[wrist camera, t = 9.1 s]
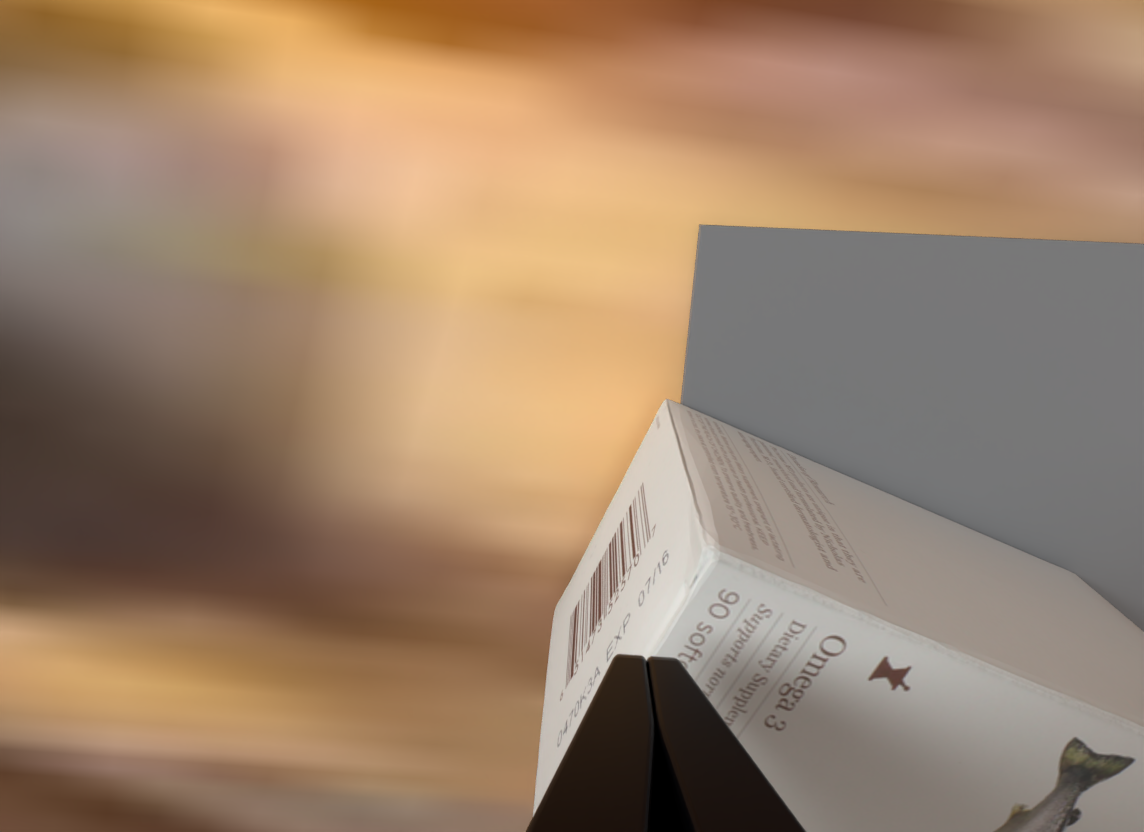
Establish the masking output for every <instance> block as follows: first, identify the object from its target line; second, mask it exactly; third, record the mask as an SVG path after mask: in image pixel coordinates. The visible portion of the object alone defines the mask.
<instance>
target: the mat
mask: <svg viewBox="0 0 1144 832" xmlns="http://www.w3.org/2000/svg"><path fill="white" fill-rule="evenodd" d="M681 404H682V405H684V406H686V407H689V408H691V409H693V410H696V411H698V412H700V413H703V414H705V415H707V416H710V417H712V418H714V419H717V420H719V421H721V422H723V423H726V424H728V425H730V426H733V427H735V428H737V429H740V430H742V431H744V432H746V433H749V434H751V435H753V436H756V437H758V438H760V439H763V440H765V441H767V442H769V443H772V444H774V445H777V446H779V447H781V448H784V449H786V450H788V451H791V452H793V453H795V454H797V455H800V456H802V457H804V458H807V459H809V460H811V461H814V462H816V463H818V464H821V465H823V466H825V467H828V468H830V469H832V470H835V471H837V472H839V473H842V474H844V475H846V476H849V477H851V478H853V479H856V480H858V481H860V482H863V483H865V484H867V485H870V486H872V487H874V488H877V489H879V490H881V491H884V492H886V493H888V494H891V495H893V496H895V497H898V498H900V499H902V500H904V501H907V502H909V503H911V504H914V505H916V506H918V507H921V508H923V509H925V510H928V511H930V512H932V513H935V514H937V515H939V516H942V517H944V518H946V519H949V520H951V521H953V522H956V523H958V524H960V525H963V526H965V527H967V528H970V529H972V530H974V531H977V532H979V533H981V534H984V535H986V536H988V537H990V538H993V539H995V540H997V541H1000V542H1002V543H1004V544H1007V545H1009V546H1011V547H1014V548H1016V549H1018V550H1021V551H1023V552H1025V553H1028V554H1030V555H1032V556H1035V557H1037V558H1039V559H1042V560H1044V561H1046V562H1049V563H1051V564H1054V565H1056V566H1058V567H1061V568H1063V569H1066V570H1068V571H1070V572H1072V573H1074V574H1076V575H1077V576H1078V577H1079V578H1081V579H1082V580H1083V581H1084V582H1085V583H1086V584H1088V585H1089V586H1090V587H1091V588H1092V589H1093V590H1095V591H1096V592H1097V593H1098V594H1099V595H1101V596H1102V597H1103V598H1104V599H1105V600H1107V601H1108V602H1109V603H1110V604H1111V605H1112V606H1114V607H1115V608H1116V609H1117V610H1118V611H1120V612H1121V613H1122V614H1123V615H1124V616H1126V617H1127V618H1128V619H1129V620H1130V621H1131V622H1133V623H1134V624H1135V625H1136V626H1137V627H1139V628H1140V629H1141V630H1142V631H1143V632H1144V244H1136V243H1113V242H1090V241H1067V240H1044V239H1021V238H998V237H975V236H952V235H928V234H905V233H882V232H859V231H836V230H813V229H790V228H767V227H743V226H720V225H699V233H698V243H697V252H696V262H695V271H694V281H693V290H692V300H691V309H690V319H689V328H688V338H687V347H686V357H685V366H684V376H683V385H682V395H681Z"/></svg>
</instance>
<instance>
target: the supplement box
mask: <svg viewBox="0 0 1144 832" xmlns="http://www.w3.org/2000/svg"><path fill="white" fill-rule="evenodd" d="M617 654H630V655H642V656H643V657H645V659H646V660H647V659H648V657H650V656H660V657H674V658H677V659H678V660H680V662H681V663H682V664H683V666H684V667H685V668H686V670H687V671H688V672H689V674H690V675H691V676H692V678H693V679H694V681H695V682H696V683H697V685H698V686H699V687H700V689H701V690H702V691H703V693H704V694H705V695H706V697H707V698H708V699H709V701H710V702H711V704H712V705H713V706H714V708H715V709H716V710H717V712H718V713H719V714H720V716H721V717H722V718H723V720H724V721H725V722H726V724H727V725H728V727H729V728H730V729H731V731H732V732H733V733H734V735H735V736H736V737H737V739H738V740H739V741H740V743H741V744H742V745H743V747H744V748H745V750H746V751H747V752H748V754H749V755H750V756H751V758H752V759H753V760H754V762H755V763H756V764H757V766H758V767H759V768H760V770H761V771H762V773H763V774H764V775H765V777H766V778H767V779H768V781H769V782H770V783H771V785H772V786H773V787H774V789H775V790H776V791H777V793H778V794H779V796H780V797H781V798H782V800H783V801H784V802H785V804H786V805H787V806H788V808H789V809H790V810H791V812H792V813H793V814H794V816H795V817H796V819H797V820H798V821H799V823H800V824H801V825H802V827H803V828H804V829H805V831H806V832H1144V632H1143V631H1142V630H1141V629H1140V628H1139V627H1137V626H1136V625H1135V624H1134V623H1133V622H1131V621H1130V620H1129V619H1128V618H1127V617H1126V616H1124V615H1123V614H1122V613H1121V612H1120V611H1118V610H1117V609H1116V608H1115V607H1114V606H1112V605H1111V604H1110V603H1109V602H1108V601H1107V600H1105V599H1104V598H1103V597H1102V596H1101V595H1099V594H1098V593H1097V592H1096V591H1095V590H1093V589H1092V588H1091V587H1090V586H1089V585H1088V584H1086V583H1085V582H1084V581H1083V580H1082V579H1081V578H1079V577H1078V576H1077V575H1076V574H1074V573H1072V572H1070V571H1068V570H1066V569H1063V568H1061V567H1058V566H1056V565H1054V564H1051V563H1049V562H1046V561H1044V560H1042V559H1039V558H1037V557H1035V556H1032V555H1030V554H1028V553H1025V552H1023V551H1021V550H1018V549H1016V548H1014V547H1011V546H1009V545H1007V544H1004V543H1002V542H1000V541H997V540H995V539H993V538H990V537H988V536H986V535H984V534H981V533H979V532H977V531H974V530H972V529H970V528H967V527H965V526H963V525H960V524H958V523H956V522H953V521H951V520H949V519H946V518H944V517H942V516H939V515H937V514H935V513H932V512H930V511H928V510H925V509H923V508H921V507H918V506H916V505H914V504H911V503H909V502H907V501H904V500H902V499H900V498H898V497H895V496H893V495H891V494H888V493H886V492H884V491H881V490H879V489H877V488H874V487H872V486H870V485H867V484H865V483H863V482H860V481H858V480H856V479H853V478H851V477H849V476H846V475H844V474H842V473H839V472H837V471H835V470H832V469H830V468H828V467H825V466H823V465H821V464H818V463H816V462H814V461H811V460H809V459H807V458H804V457H802V456H800V455H797V454H795V453H793V452H791V451H788V450H786V449H784V448H781V447H779V446H777V445H774V444H772V443H769V442H767V441H765V440H763V439H760V438H758V437H756V436H753V435H751V434H749V433H746V432H744V431H742V430H740V429H737V428H735V427H733V426H730V425H728V424H726V423H723V422H721V421H719V420H717V419H714V418H712V417H710V416H707V415H705V414H703V413H700V412H698V411H696V410H693V409H691V408H689V407H686V406H684V405H682V404H679V403H677V402H674V401H672V400H669V399H665V400H664V401H663V403H662V405H661V407H660V408H659V410H658V412H657V414H656V416H655V418H654V420H653V422H652V424H651V426H650V428H649V430H648V432H647V434H646V436H645V437H644V439H643V441H642V443H641V445H640V447H639V449H638V451H637V453H636V455H635V457H634V458H633V460H632V462H631V464H630V466H629V468H628V470H627V472H626V474H625V476H624V478H623V480H622V482H621V484H620V486H619V488H618V490H617V492H616V494H615V495H614V497H613V499H612V501H611V503H610V505H609V507H608V509H607V511H606V513H605V515H604V516H603V518H602V520H601V522H600V524H599V526H598V528H597V530H596V532H595V534H594V536H593V538H592V540H591V542H590V544H589V546H588V548H587V550H586V552H585V554H584V556H583V557H582V559H581V561H580V563H579V565H578V567H577V569H576V571H575V573H574V575H573V577H572V579H571V581H570V582H569V584H568V586H567V588H566V590H565V591H564V593H563V595H562V597H561V598H560V600H559V602H558V604H557V605H556V608H555V612H554V617H553V625H552V633H551V641H550V650H549V659H548V668H547V677H546V686H545V697H544V707H543V716H542V725H541V735H540V745H539V757H538V766H537V774H536V787H535V799H534V810H533V816H534V814H535V812H536V810H537V808H538V806H539V804H540V802H541V800H542V798H543V796H544V794H545V792H546V790H547V788H548V786H549V784H550V782H551V780H552V778H553V776H554V774H555V772H556V770H557V768H558V766H559V764H560V762H561V760H562V758H563V756H564V755H565V753H566V751H567V749H568V747H569V745H570V743H571V741H572V739H573V737H574V735H575V733H576V731H577V729H578V727H579V725H580V723H581V721H582V719H583V717H584V715H585V713H586V711H587V709H588V707H589V705H590V703H591V701H592V699H593V697H594V695H595V693H596V691H597V689H598V687H599V685H600V683H601V681H602V679H603V677H604V675H605V673H606V671H607V669H608V667H609V665H610V663H611V661H612V659H613V658H614V656H615V655H617Z"/></svg>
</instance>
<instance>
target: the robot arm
mask: <svg viewBox="0 0 1144 832" xmlns="http://www.w3.org/2000/svg"><path fill="white" fill-rule="evenodd" d="M526 832H806V831H805V829H804V828H803V827H802V825H801V824H800V823H799V821H798V820H797V819H796V817H795V816H794V814H793V813H792V812H791V810H790V809H789V808H788V806H787V805H786V804H785V802H784V801H783V800H782V798H781V797H780V796H779V794H778V793H777V791H776V790H775V789H774V787H773V786H772V785H771V783H770V782H769V781H768V779H767V778H766V777H765V775H764V774H763V773H762V771H761V770H760V768H759V767H758V766H757V764H756V763H755V762H754V760H753V759H752V758H751V756H750V755H749V754H748V752H747V751H746V750H745V748H744V747H743V745H742V744H741V743H740V741H739V740H738V739H737V737H736V736H735V735H734V733H733V732H732V731H731V729H730V728H729V727H728V725H727V724H726V722H725V721H724V720H723V718H722V717H721V716H720V714H719V713H718V712H717V710H716V709H715V708H714V706H713V705H712V704H711V702H710V701H709V699H708V698H707V697H706V695H705V694H704V693H703V691H702V690H701V689H700V687H699V686H698V685H697V683H696V682H695V681H694V679H693V678H692V676H691V675H690V674H689V672H688V671H687V670H686V668H685V667H684V666H683V664H682V663H681V662H680V660H678V659H677V658H674V657H660V656H650V657H648V659H647V660H646V659H645V657H643V656H642V655H630V654H617V655H615V656H614V658H613V659H612V661H611V663H610V665H609V667H608V669H607V671H606V673H605V675H604V677H603V679H602V681H601V683H600V685H599V687H598V689H597V691H596V693H595V695H594V697H593V699H592V701H591V703H590V705H589V707H588V709H587V711H586V713H585V715H584V717H583V719H582V721H581V723H580V725H579V727H578V729H577V731H576V733H575V735H574V737H573V739H572V741H571V743H570V745H569V747H568V749H567V751H566V753H565V755H564V756H563V758H562V760H561V762H560V764H559V766H558V768H557V770H556V772H555V774H554V776H553V778H552V780H551V782H550V784H549V786H548V788H547V790H546V792H545V794H544V796H543V798H542V800H541V802H540V804H539V806H538V808H537V810H536V812H535V814H534V816H533V818H532V820H531V822H530V824H529V826H528V828H527V830H526Z"/></svg>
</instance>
